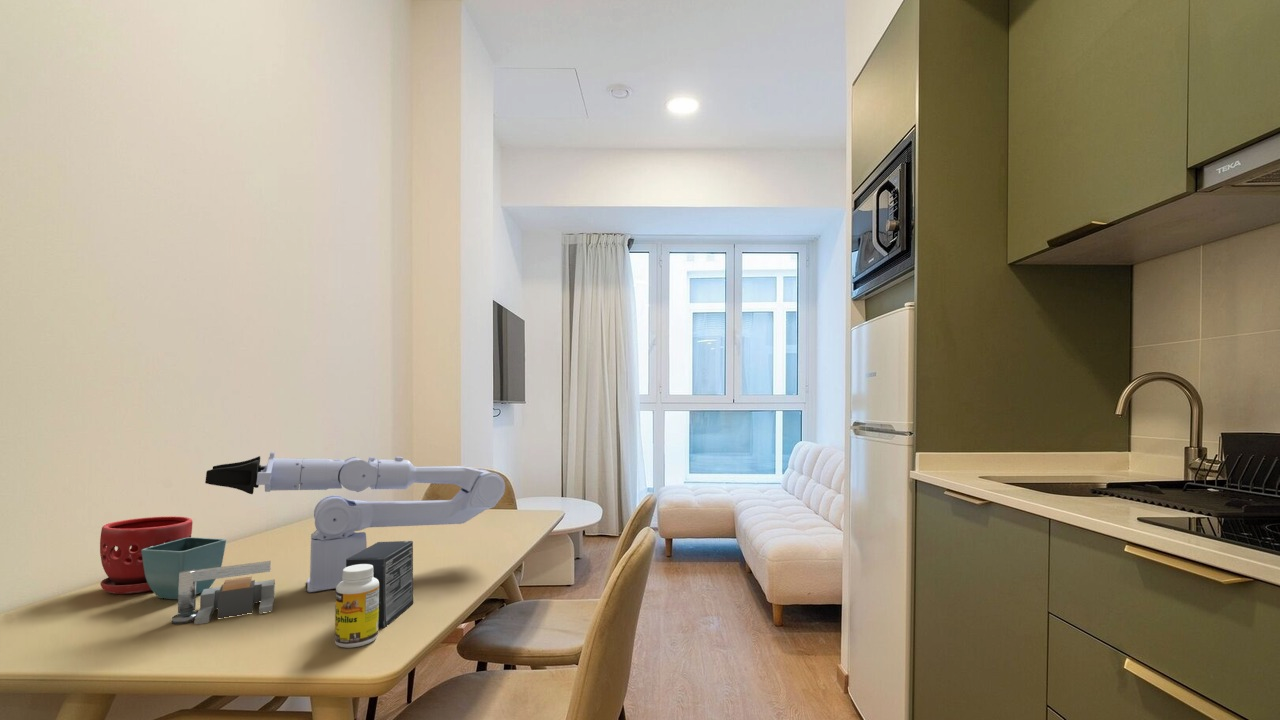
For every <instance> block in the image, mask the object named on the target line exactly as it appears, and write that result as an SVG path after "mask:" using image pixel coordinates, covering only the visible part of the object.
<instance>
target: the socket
mask: <svg viewBox="0 0 1280 720" xmlns="http://www.w3.org/2000/svg"><path fill="white" fill-rule="evenodd" d="M275 581H276V579H266V580H260V581H255V592H254V602H259V601H261V602H260V603H259V606H258V614H259V613H263V612H269V611H272V612H273V608H274V602H275V588H276V587H275V585H276V584H275V583H276V582H275ZM220 588H221V586H217V587H210V588H209V589H204V590H203V592H202V593H200V597H199V599H200V601H199V603H200V604H199V605H200V606H199V610H197V611H198V613H197V615H196V617H195V621H194V626H196V625H202V624H208V622H209V623H210V621H211V618H212V616H213V614H214V612H213V611H215V610H218V609H217V608H218V594H219V590H220ZM273 601H274V602H273ZM214 609H215V610H214Z"/></svg>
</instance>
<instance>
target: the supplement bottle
mask: <svg viewBox="0 0 1280 720" xmlns="http://www.w3.org/2000/svg"><path fill="white" fill-rule="evenodd" d="M373 574H374V573H373V565H370V564H357V565H352V566H348V567H346V568H344V569H343V576H342V578H343V579H342V582H340V583H339V584H338V585H337V587H336V588H335V610H334V611H335V614H334V615H335V616H334V617H335V618H334V621H335V623H334V642H335V645H337V646H338V647H340V648H346V649H351V648H352V649H353V648H358V647H362V646H366V645H368V644H371V643H372V642H373V641H375V640H377V637H378V635H379V628H378V620H379V619H378V618H379V581H378V579H376V578H374V577H373Z"/></svg>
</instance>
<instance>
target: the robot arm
mask: <svg viewBox="0 0 1280 720" xmlns="http://www.w3.org/2000/svg"><path fill="white" fill-rule="evenodd" d="M275 453H276V452H275V451H270V452H269V457H268V460H267V464H263V465H262V464H261V456H260V455H258V456H256V457H253V458H250V459H247V460H244V461H239V462H238V461H237V462H231V463H223V464H217V465H214V466H212V469H209V470H207V471H206V473H205V480H204V481H205V482H204V483H205V484H206V485H211V486H216V487H217V486H218V487H224V488H230V489H234V490H235V489H236V490H239V491H242V492H245V493H247V494H250V495H253V494H254V491H255V489H257V488H259V487H260V486H264V492H265V493H268V492H269V493H270V492H272V491H317V490H318V491H327V490H329V489H330V490H331V489H340V490H341V489H343V488H344V489H346V490H348V491H353V492H356V493H359V492H360V493H361V492H363V491H365V490H366V489H368V488H370V489H371V490H406V489H408V488H409V487H410V486H412V485H413V484H414V483H417V484H419V483H420V484H422V483H423V484H444V485H445V484H446V485H456V486H458V487H460V488H461V489H460V490H459V491H458V492H457V493H456V494H455V495H454V496H453V497H452V499H445V500H444V499H437V500H435V499H434V500H431V499H429V500H397V501H396V500H388V501H387V500H386V501H384V500H383V501H378V500H377V501H366V500H362V499H361V500H359V499H348V498H345V497H343V496H342V495H328V496H325V497H323V498H322V499H320V500H319V501H318V502H317V504H316V505H315V507H314V510H313V518H314V526H315V529H316V530H315V531H314V532H312V533H311V534H310V567H309V569H310V570H309V578H307V580H306V581H307V582H306V583H307V585H306V586H307V588H306V589H307V592H308V593H315V592H321V591H326V590H327V591H328V590H333V589H336V587H337V585H338V584H339V583H340V582H342V579H343V578H342V576H343V569H344V568H346V559H347V558H349V557H351V556H353V555H355V554H357V553H359V552H361V551H362V550H364V549H366V548H368V545H367V534H366V532H364V531H363V532H361V531H362V530H365V529H369V528H389V527H390V528H391V527H412V526H417V527H418V526H443V525H446V526H447V525H461V524H465V523H467V522H468V521H470V520H472V519H474V518H475V517H477V516H478V515H480V514H482V513H483V512H485V511H487V510H490V509H493V508H495V506H496V505H497V504H498V503H499V502H500V501H501V499H502V498H503V496H504V495H505V491H506V483H505V480H504V478H503V477H502V476H501V475H500V474H498V473H496V472H490V470H488V469H485V468H475V467H470V466H463V465H449V466H448V465H447V466H446V465H445V466H443V465H441V466H440V465H439V466H438V465H437V466H415V465H413V463H412V462H411V461H410V460H409V459H404V457H402V456H395V457H394V459H376V457H375V456H368V461H367V460H364V459H362V458H358V457H356V456H351V457H348V458H346V459H339V458H337V459H330V458H294V457H293V458H286V457H285V458H282V457H281V458H280V457H277V458H275ZM358 531H359V532H358Z"/></svg>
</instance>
